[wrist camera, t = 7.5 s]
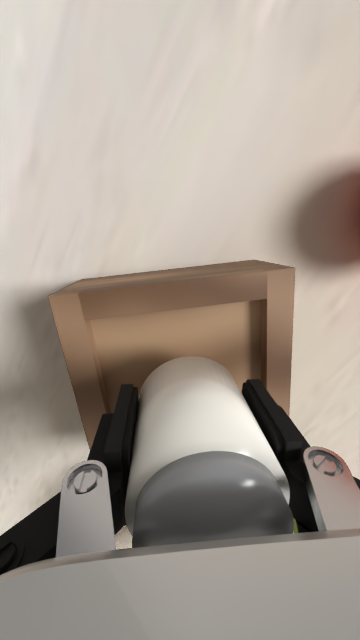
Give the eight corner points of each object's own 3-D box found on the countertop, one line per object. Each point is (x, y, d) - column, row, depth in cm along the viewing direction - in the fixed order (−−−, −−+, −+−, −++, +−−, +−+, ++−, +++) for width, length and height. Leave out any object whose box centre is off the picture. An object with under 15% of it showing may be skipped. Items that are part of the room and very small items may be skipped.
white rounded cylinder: (242, 354, 12) (319, 461, 6) (234, 439, 13) (290, 587, 8) (136, 357, 11) (113, 475, 6) (140, 444, 13) (126, 604, 7)
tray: (254, 401, 21) (287, 456, 16) (115, 420, 21) (99, 484, 15) (253, 259, 18) (295, 267, 12) (83, 278, 17) (47, 296, 12)
